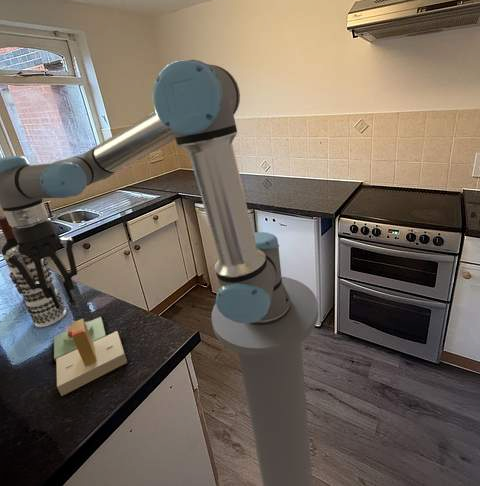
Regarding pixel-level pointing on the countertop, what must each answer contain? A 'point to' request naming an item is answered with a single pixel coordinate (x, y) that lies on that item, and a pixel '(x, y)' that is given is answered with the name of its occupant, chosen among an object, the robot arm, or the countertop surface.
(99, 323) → the green push button box
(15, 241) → the wine bottle
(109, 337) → the plate
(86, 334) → the thumbturn
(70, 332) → the bell button
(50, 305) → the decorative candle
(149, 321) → the countertop surface
